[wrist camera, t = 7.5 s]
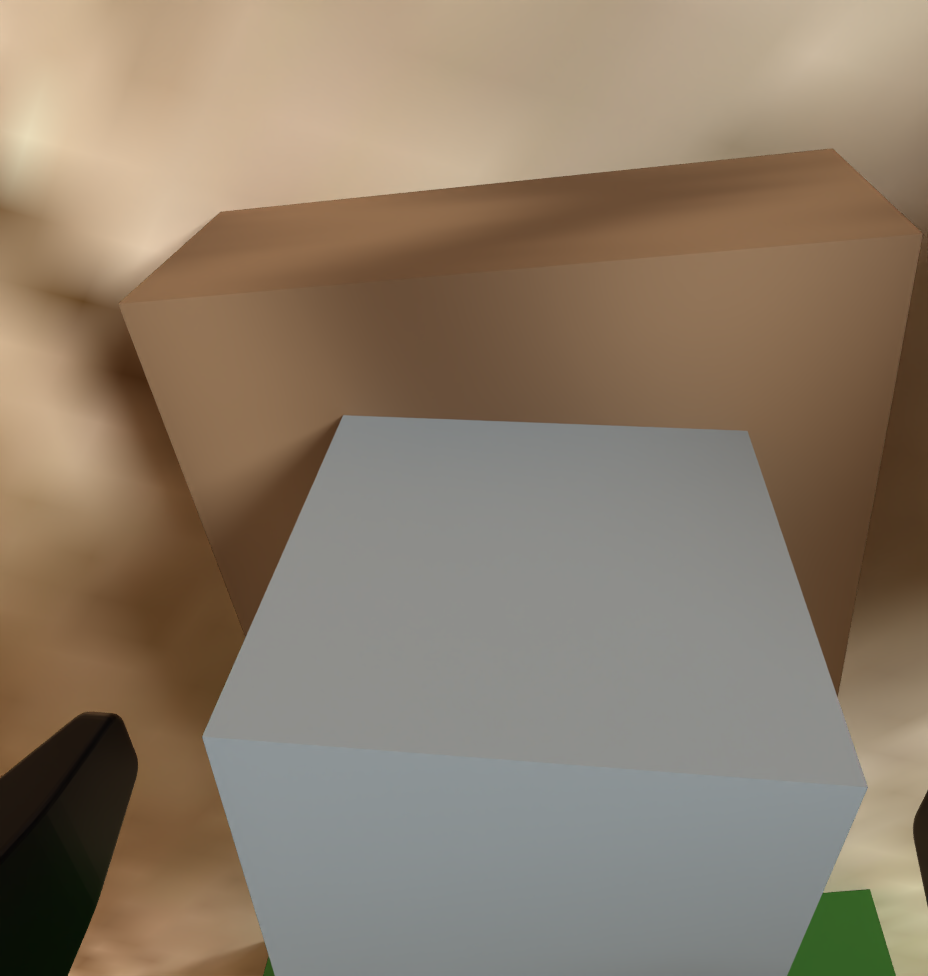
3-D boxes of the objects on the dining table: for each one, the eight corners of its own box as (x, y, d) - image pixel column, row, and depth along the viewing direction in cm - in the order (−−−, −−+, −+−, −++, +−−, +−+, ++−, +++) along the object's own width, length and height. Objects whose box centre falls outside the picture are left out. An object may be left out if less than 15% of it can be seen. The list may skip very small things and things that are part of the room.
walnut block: (825, 141, 12) (923, 233, 9) (773, 608, 17) (823, 777, 14) (228, 205, 13) (118, 304, 10) (346, 618, 18) (297, 773, 15)
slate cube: (746, 431, 10) (867, 787, 6) (689, 706, 13) (745, 1072, 9) (343, 415, 11) (201, 737, 6) (373, 683, 13) (290, 1023, 9)
